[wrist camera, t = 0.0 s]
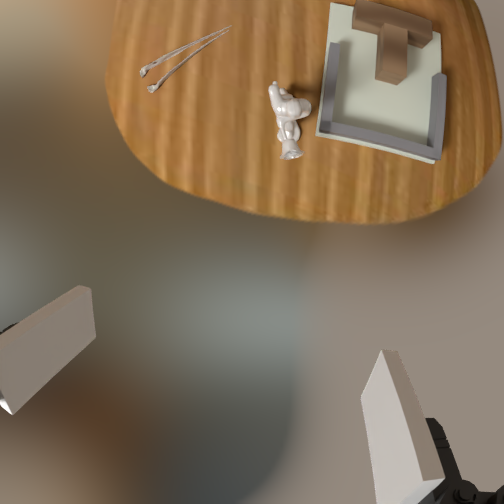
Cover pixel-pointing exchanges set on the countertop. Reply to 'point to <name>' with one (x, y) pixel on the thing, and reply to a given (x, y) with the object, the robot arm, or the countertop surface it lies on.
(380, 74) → the t block
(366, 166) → the countertop surface
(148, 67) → the silver tweezers
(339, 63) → the board
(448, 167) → the countertop surface
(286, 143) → the figurine
